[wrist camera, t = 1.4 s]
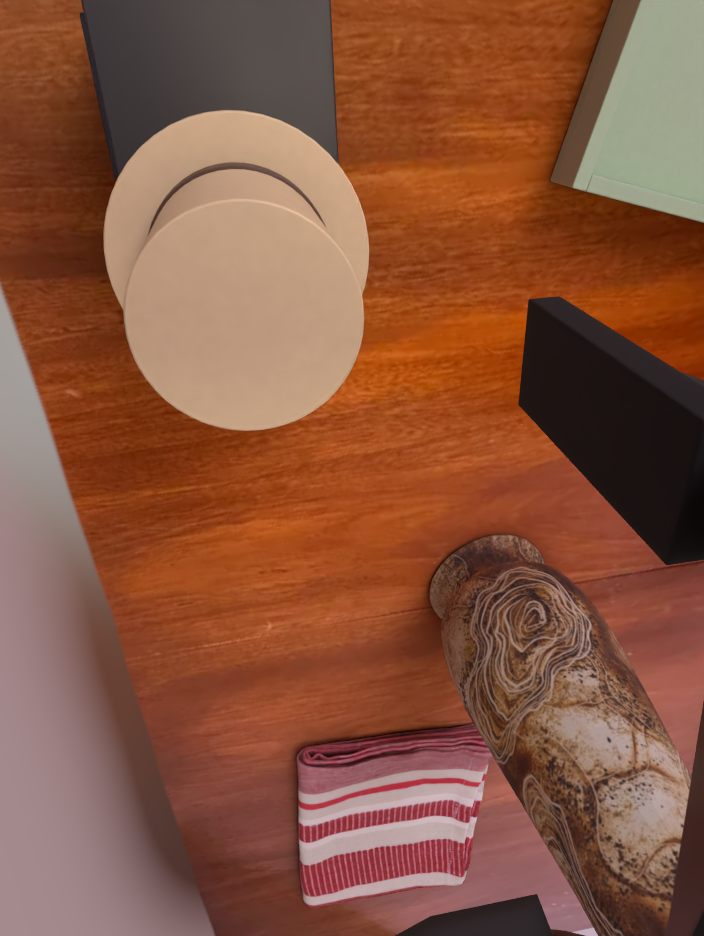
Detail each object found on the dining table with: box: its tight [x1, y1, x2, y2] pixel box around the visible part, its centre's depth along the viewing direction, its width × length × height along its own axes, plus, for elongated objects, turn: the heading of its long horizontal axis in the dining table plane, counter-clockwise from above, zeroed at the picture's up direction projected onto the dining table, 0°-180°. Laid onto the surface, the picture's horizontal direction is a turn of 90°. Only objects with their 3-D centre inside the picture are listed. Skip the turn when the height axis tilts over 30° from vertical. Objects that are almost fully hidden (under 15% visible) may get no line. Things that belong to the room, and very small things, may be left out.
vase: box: [430, 535, 691, 936], centre depth 35 cm, size 10×11×30 cm
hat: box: [103, 110, 369, 431], centre depth 22 cm, size 10×10×9 cm
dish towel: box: [297, 725, 492, 908], centre depth 59 cm, size 17×23×3 cm
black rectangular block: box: [80, 0, 338, 181], centre depth 28 cm, size 14×8×8 cm, turn 2°
